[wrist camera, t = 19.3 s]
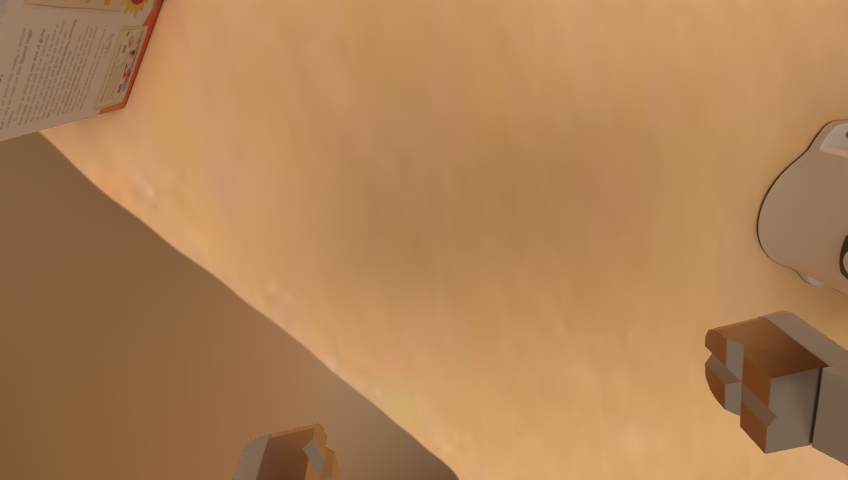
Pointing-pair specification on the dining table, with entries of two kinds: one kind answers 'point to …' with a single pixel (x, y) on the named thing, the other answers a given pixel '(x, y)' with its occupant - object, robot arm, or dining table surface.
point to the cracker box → (68, 59)
